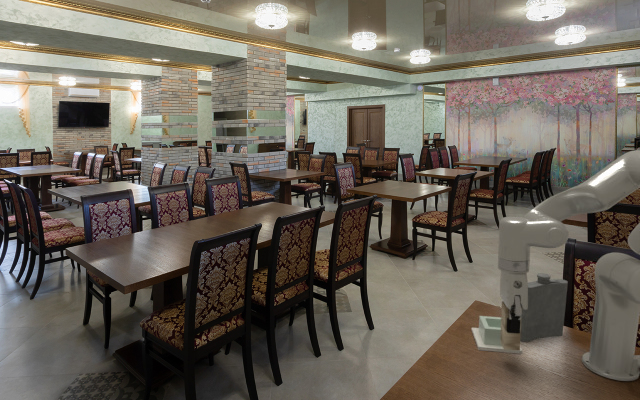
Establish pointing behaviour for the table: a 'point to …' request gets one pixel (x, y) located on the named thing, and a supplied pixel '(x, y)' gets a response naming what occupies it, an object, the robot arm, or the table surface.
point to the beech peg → (509, 339)
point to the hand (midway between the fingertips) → (510, 327)
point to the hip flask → (544, 309)
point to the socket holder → (490, 335)
